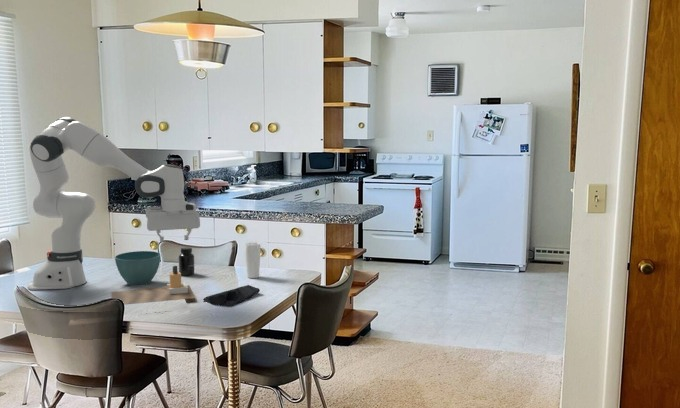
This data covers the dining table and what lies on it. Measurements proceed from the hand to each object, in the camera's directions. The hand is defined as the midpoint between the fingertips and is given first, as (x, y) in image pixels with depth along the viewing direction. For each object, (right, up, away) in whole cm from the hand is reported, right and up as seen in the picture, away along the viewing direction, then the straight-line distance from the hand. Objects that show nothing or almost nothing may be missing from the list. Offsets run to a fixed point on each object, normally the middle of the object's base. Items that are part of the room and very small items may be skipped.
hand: (174, 240), depth 245 cm
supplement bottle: (-4, -18, +35) cm, 39 cm away
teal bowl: (-20, -20, +18) cm, 33 cm away
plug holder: (0, -20, +1) cm, 20 cm away
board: (-7, -22, -4) cm, 24 cm away
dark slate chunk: (+24, -23, -3) cm, 33 cm away
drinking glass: (+27, -18, +30) cm, 44 cm away
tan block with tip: (0, -20, +1) cm, 20 cm away
